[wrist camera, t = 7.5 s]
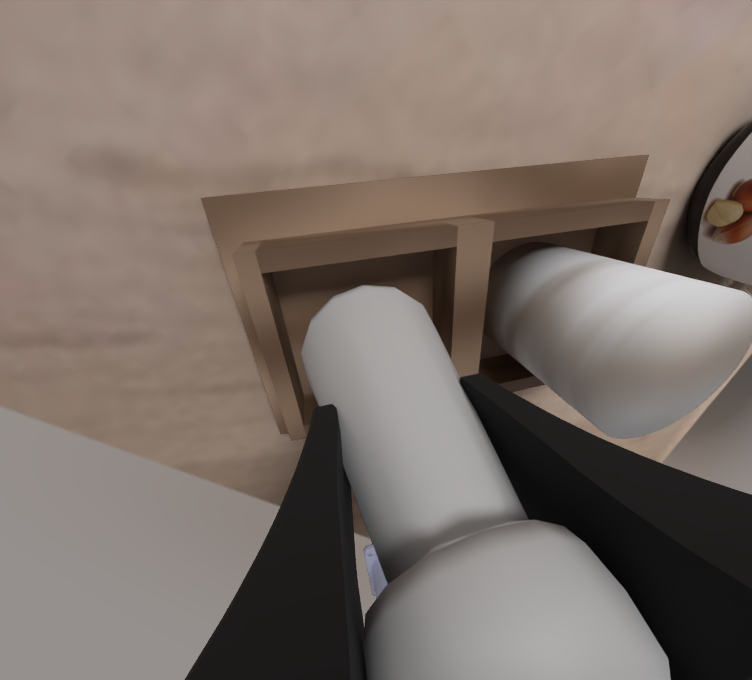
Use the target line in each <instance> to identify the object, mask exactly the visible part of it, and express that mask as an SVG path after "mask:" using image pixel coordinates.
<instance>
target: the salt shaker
mask: <svg viewBox="0 0 752 680" xmlns="http://www.w3.org/2000/svg"><path fill="white" fill-rule="evenodd" d="M301 355H302V359H303V363H304V366H305V370H306V374H307V378H308V381H309V383H310V386H311V388H312V391H313V393H314V395H315V398H316V400H317V403H318V405H319V406H324V405H329V404H333V405H334V406H335V407H336V408H337V414H338V420H339V426H340V432H341V444H342V457H343V466H344V469H345V472H346V474H347V477H348V480H349V482H350V485H351V488H352V490H353V493H354V496H355V498H356V501H357V504H358V506H359V509H360V512H361V514H362V517H363V520H364V522H365V525H366V528H367V530H368V533H369V536H370V538H371V541H372V544H373V546H374V549H375V552H376V554H377V557H378V560H379V562H380V565H381V568H382V570H383V573H384V576H385V578H386V581H387V584H388V585H386V587H385V588H384V589H383V591H382V592H381V593H380V595H379V596H378V598H377V599H376V601H375V602H374V603H373V605H372V606H371V607H370V609H369V610H368V611H367V613H366V615H365V627H364V639H363V646H364V656H365V665H366V674H367V680H671V677H670V669H669V661H668V657H667V656H666V654H665V653H664V651H663V649H662V648H661V646H660V644H659V643H658V641H657V640H656V638H655V636H654V635H653V633H652V632H651V630H650V628H649V627H648V625H647V624H646V622H645V620H644V619H643V617H642V616H641V614H640V612H639V611H638V609H637V607H636V606H635V604H634V603H633V601H632V599H631V598H630V596H629V595H628V593H627V591H626V590H625V589H624V588H623V587H622V585H621V584H620V583H619V582H618V581H617V579H616V578H615V577H614V576H613V575H612V574H611V572H610V571H609V570H608V569H607V568H606V567H605V565H604V564H603V563H602V562H601V561H600V560H599V558H598V557H597V556H596V555H595V554H594V553H593V551H592V550H591V549H590V548H589V547H588V546H587V544H586V543H585V542H583V541H582V540H581V539H579V538H578V537H577V536H576V535H574V534H573V533H572V532H571V531H569V530H568V529H567V528H566V527H564V526H561V525H557V524H552V523H548V522H543V521H539V520H529V519H528V517H527V515H526V513H525V511H524V509H523V507H522V505H521V503H520V501H519V499H518V496H517V494H516V492H515V490H514V488H513V486H512V484H511V482H510V480H509V478H508V476H507V474H506V472H505V470H504V468H503V466H502V464H501V461H500V459H499V457H498V455H497V453H496V451H495V449H494V447H493V445H492V443H491V441H490V439H489V437H488V435H487V433H486V431H485V429H484V426H483V424H482V422H481V420H480V418H479V416H478V414H477V412H476V410H475V409H474V407H473V405H472V403H471V402H470V400H469V398H468V396H467V395H466V393H465V391H464V389H463V387H462V386H461V384H460V377H459V375H458V373H457V371H456V369H455V367H454V365H453V363H452V361H451V358H450V356H449V354H448V352H447V350H446V348H445V346H444V344H443V342H442V340H441V338H440V336H439V334H438V332H437V330H436V328H435V326H434V324H433V322H432V320H431V319H430V317H429V315H428V313H427V311H426V309H425V308H424V306H423V305H422V304H421V303H419V302H417V301H416V300H414V299H413V298H411V297H409V296H408V295H406V294H405V293H403V292H401V291H400V290H398V289H396V288H395V287H386V286H371V285H362V286H359V287H357V288H354V289H351V290H349V291H346V292H344V293H340V294H336V295H335V296H333V297H332V298H331V299H330V300H329V301H328V302H327V303H326V304H325V305H324V306H323V307H322V308H321V309H320V310H319V311H318V312H317V313H316V314H315V316H314V317H313V318H312V319H311V321H310V324H309V327H308V331H307V334H306V337H305V340H304V344H303V347H302V351H301Z"/></svg>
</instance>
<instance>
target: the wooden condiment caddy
mask: <svg viewBox="0 0 752 680" xmlns="http://www.w3.org/2000/svg"><path fill="white" fill-rule="evenodd" d="M648 157H649V155H639V156H627V157H617V158H607V159H596V160H586V161H576V162H566V163H555V164H545V165H535V166H524V167H514V168H504V169H494V170H483V171H473V172H463V173H452V174H442V175H432V176H421V177H411V178H401V179H391V180H380V181H370V182H360V183H349V184H339V185H329V186H319V187H308V188H298V189H288V190H277V191H267V192H257V193H247V194H236V195H226V196H216V197H206V198H201V200H202V203H203V206H204V209H205V212H206V215H207V218H208V221H209V224H210V227H211V230H212V233H213V236H214V239H215V242H216V245H217V248H218V250H219V253H220V256H221V259H222V262H223V265H224V268H225V271H226V274H227V277H228V280H229V283H230V286H231V289H232V292H233V295H234V298H235V301H236V304H237V307H238V310H239V312H240V315H241V318H242V321H243V324H244V327H245V330H246V333H247V336H248V339H249V342H250V345H251V348H252V351H253V354H254V357H255V360H256V363H257V366H258V369H259V372H260V374H261V377H262V380H263V383H264V386H265V389H266V392H267V395H268V398H269V401H270V404H271V407H272V410H273V413H274V416H275V419H276V422H277V425H278V428H279V431H280V434H285V433H289V436H290V439H291V441H292V440H296V439H301V438H306V437H307V434H308V431H309V427H310V423H311V418H312V412H313V410H314V409H315V408H316V407H319V405H318V403H317V400H316V398H315V395H314V393H313V391H312V388H311V386H310V383H309V381H308V378H307V374H306V370H305V366H304V363H303V359H302V355H301V351H302V347H303V344H304V340H305V337H306V334H307V331H308V327H309V324H310V321H311V319H312V318H313V317H314V316H315V314H316V313H317V312H318V311H319V310H320V309H321V308H322V307H323V306H324V305H325V304H326V303H327V302H328V301H329V300H330V299H331V298H332V297H333V296H335V295H336V294H340V293H344V292H346V291H349V290H351V289H354V288H357V287H359V286H362V285H371V286H386V287H395V288H396V289H398V290H400V291H401V292H403V293H405V294H406V295H408V296H409V297H411V298H413V299H414V300H416V301H417V302H419V303H421V304H422V305H423V306H424V308H425V309H426V311H427V313H428V315H429V317H430V319H431V320H432V322H433V324H434V326H435V328H436V330H437V332H438V334H439V336H440V338H441V340H442V342H443V344H444V346H445V348H446V350H447V352H448V354H449V356H450V358H451V361H452V363H453V365H454V367H455V369H456V371H457V373H458V375H459V377H464V376H469V375H473V374H480V375H482V376H484V377H485V378H487V379H489V380H491V381H493V382H494V383H496V384H498V385H500V386H502V387H503V388H505V389H507V390H509V391H510V392H514V391H518V390H523V389H527V388H532V387H536V386H541V385H547V386H548V387H549V388H550V389H551V390H553V391H554V392H555V393H556V394H557V395H559V396H560V397H561V398H562V399H563V400H565V401H566V402H567V403H568V404H569V405H571V406H572V407H573V408H574V409H575V410H577V411H578V412H579V413H580V414H581V415H583V416H584V417H585V418H586V419H587V420H589V421H590V422H591V423H592V424H593V425H594V426H596V427H597V428H598V429H599V430H600V431H602V432H603V433H605V434H606V435H608V436H611V437H614V438H621V439H627V438H635V437H640V436H644V435H647V434H650V433H653V432H655V431H658V430H660V429H662V428H664V427H667V426H669V425H670V424H672V423H674V422H676V421H678V420H679V419H681V418H682V417H684V416H685V415H687V414H688V413H690V412H691V411H693V410H694V409H695V408H697V407H698V406H699V405H700V404H702V403H703V402H704V401H705V400H707V399H708V398H709V397H710V396H711V395H712V394H713V393H714V392H715V391H716V390H717V389H718V388H719V387H720V386H721V385H722V384H723V383H724V382H725V381H726V380H727V379H728V377H729V376H730V375H731V374H732V373H733V371H734V370H735V369H736V368H737V366H738V365H739V363H740V362H741V360H742V359H743V357H744V356H745V354H746V352H747V350H748V349H749V347H750V345H751V342H752V297H751V296H750V295H749V294H747V293H745V292H744V291H740V290H737V289H733V288H729V287H725V286H721V285H717V284H713V283H709V282H704V281H700V280H696V279H692V278H688V277H684V276H680V275H676V274H672V273H668V272H664V271H660V270H656V269H652V268H648V267H645V266H646V264H647V261H648V258H649V256H650V253H651V250H652V247H653V245H654V242H655V239H656V237H657V234H658V231H659V229H660V226H661V223H662V220H663V218H664V215H665V212H666V210H667V207H668V204H669V202H670V199H650V198H636V195H637V191H638V188H639V185H640V182H641V179H642V176H643V172H644V169H645V166H646V163H647V160H648Z"/></svg>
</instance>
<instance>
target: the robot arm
mask: <svg viewBox="0 0 752 680" xmlns="http://www.w3.org/2000/svg"><path fill="white" fill-rule="evenodd" d="M460 384H461V386H462V387H463V389H464V391H465V393H466V395H467V396H468V398H469V400H470V402H471V403H472V405H473V407H474V409H475V410H476V412H477V414H478V416H479V418H480V420H481V422H482V424H483V426H484V429H485V431H486V433H487V435H488V437H489V439H490V441H491V443H492V445H493V447H494V449H495V451H496V453H497V455H498V457H499V459H500V461H501V464H502V466H503V468H504V470H505V472H506V474H507V476H508V478H509V480H510V482H511V484H512V486H513V488H514V490H515V492H516V494H517V496H518V499H519V501H520V503H521V505H522V507H523V509H524V511H525V513H526V515H527V517H528V519H529V520H539V521H543V522H548V523H552V524H557V525H561V526H564V527H566V528H567V529H568V530H569V531H571V532H572V533H573V534H574V535H576V536H577V537H578V538H579V539H581V540H582V541H583V542H585V543H586V544H587V546H588V547H589V548H590V549H591V550H592V551H593V553H594V554H595V555H596V556H597V557H598V558H599V560H600V561H601V562H602V563H603V564H604V565H605V567H606V568H607V569H608V570H609V571H610V572H611V574H612V575H613V576H614V577H615V578H616V579H617V581H618V582H619V583H620V584H621V585H622V587H623V588H624V589H625V590H626V591H627V593H628V595H629V596H630V598H631V599H632V601H633V603H634V604H635V606H636V607H637V609H638V611H639V612H640V614H641V616H642V617H643V619H644V620H645V622H646V624H647V625H648V627H649V628H650V630H651V632H652V633H653V635H654V636H655V638H656V640H657V641H658V643H659V644H660V646H661V648H662V649H663V651H664V653H665V654H666V656H667V657H668V661H669V669H670V677H671V680H752V495H750V494H747V493H744V492H741V491H738V490H735V489H731V488H729V487H726V486H723V485H720V484H717V483H714V482H711V481H708V480H705V479H702V478H699V477H696V476H694V475H691V474H688V473H686V472H683V471H680V470H678V469H675V468H672V467H669V466H667V465H664V464H661V463H659V462H656V461H654V460H651V459H649V458H646V457H644V456H641V455H639V454H636V453H634V452H631V451H629V450H627V449H624V448H622V447H620V446H617V445H615V444H613V443H610V442H608V441H606V440H603V439H601V438H599V437H597V436H595V435H593V434H590V433H588V432H586V431H584V430H582V429H580V428H578V427H576V426H574V425H572V424H570V423H568V422H566V421H564V420H562V419H560V418H558V417H556V416H554V415H552V414H550V413H548V412H547V411H545V410H543V409H541V408H539V407H537V406H535V405H534V404H532V403H530V402H528V401H526V400H525V399H523V398H521V397H519V396H517V395H516V394H514V393H512V392H510V391H509V390H507V389H505V388H503V387H502V386H500V385H498V384H496V383H494V382H493V381H491V380H489V379H487V378H485V377H484V376H482V375H480V374H473V375H469V376H464V377H460ZM364 555H365V560H366V565H367V570H368V575H369V580H370V585H371V590H372V594H373V595H374V596H376V597H377V598H378V596H379V595H380V593H381V592H382V591H383V589H384V588H385V587H386V585H388V584H387V581H386V578H385V576H384V573H383V570H382V568H381V565H380V562H379V560H378V557H377V554H376V552H375V549H374V546H373V544H371V545H368V546H366V547H365V548H364ZM363 639H364V623H363V616H362V609H361V603H360V595H359V588H358V580H357V570H356V558H355V543H354V528H353V513H352V499H351V485H350V482H349V480H348V477H347V474H346V472H345V469H344V466H343V457H342V444H341V432H340V426H339V420H338V414H337V408H336V407H335V406H334V405H333V404H329V405H324V406H319V407H316V408H315V409H314V410H313V412H312V418H311V423H310V427H309V431H308V434H307V438H306V441H305V444H304V447H303V450H302V453H301V456H300V459H299V462H298V465H297V467H296V470H295V473H294V475H293V478H292V480H291V483H290V485H289V488H288V490H287V492H286V495H285V497H284V500H283V502H282V504H281V507H280V509H279V511H278V513H277V516H276V518H275V520H274V522H273V524H272V526H271V528H270V530H269V533H268V535H267V537H266V539H265V541H264V543H263V545H262V547H261V549H260V551H259V552H258V555H257V556H256V559H255V560H254V562H253V564H252V566H251V568H250V569H249V571H248V573H247V575H246V577H245V579H244V580H243V583H242V584H241V586H240V588H239V590H238V592H237V593H236V595H235V597H234V599H233V601H232V602H231V604H230V606H229V608H228V609H227V611H226V613H225V614H224V616H223V618H222V620H221V621H220V623H219V625H218V626H217V628H216V630H215V631H214V633H213V634H212V636H211V637H210V639H209V641H208V643H207V644H206V646H205V647H204V649H203V651H202V652H201V654H200V656H199V657H198V659H197V661H196V662H195V664H194V665H193V667H192V669H191V670H190V672H189V673H188V675H187V677H186V678H185V680H367V674H366V665H365V656H364V646H363Z"/></svg>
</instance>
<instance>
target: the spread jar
mask: <svg viewBox="0 0 752 680" xmlns="http://www.w3.org/2000/svg"><path fill="white" fill-rule="evenodd" d="M687 235H688V240H689V246H690V248H691V251H692V253H693V255H694V257H695V258H696V259H697V261H698V262H699V263H700V264H701V265H702V266H703V267H705V268H706V269H708V270H710V271H712V272H714V273H716V274H718V275H720V276H722V277H725V278H728V279H731V280H734V281H738V282H741V283H745V284H747V289H748V290H749V292H750V293H751V294H752V121H751V122H749V123H748V124H747V125H746V126H745V127H744V128H743V129H742V130H741V131H740V132H739V133H737V134H736V135H735V136H734V137H733V138H732V139H731V141H730V142H729V143H728V144H727V145H726V146H725V147H724V148H723V149H722V150H721V152H720V153H719V154H718V155H717V156H716V158H715V159H714V160H713V161H712V163H711V164H710V165H709V167H708V168H707V170H706V171H705V173H704V175H703V176H702V178H701V180H700V182H699V184H698V186H697V188H696V190H695V192H694V195H693V197H692V200H691V203H690V207H689V212H688V220H687Z"/></svg>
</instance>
